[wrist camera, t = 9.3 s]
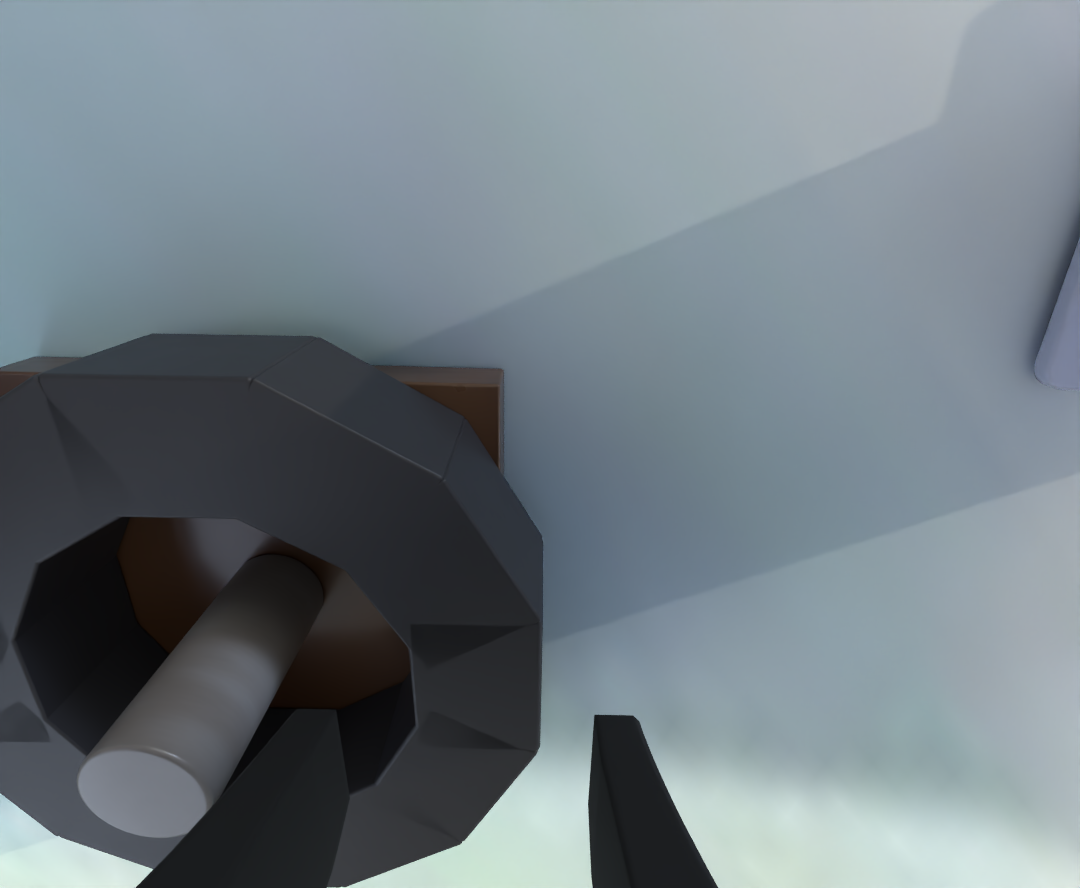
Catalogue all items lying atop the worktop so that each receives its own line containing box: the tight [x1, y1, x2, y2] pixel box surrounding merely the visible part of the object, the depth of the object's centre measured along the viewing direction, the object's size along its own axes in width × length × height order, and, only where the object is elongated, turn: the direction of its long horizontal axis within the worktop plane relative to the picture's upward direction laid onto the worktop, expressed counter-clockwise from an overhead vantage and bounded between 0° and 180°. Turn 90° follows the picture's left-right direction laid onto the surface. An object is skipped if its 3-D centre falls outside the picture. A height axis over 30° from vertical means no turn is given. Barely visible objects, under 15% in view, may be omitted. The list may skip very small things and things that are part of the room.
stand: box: [0, 357, 504, 838], centre depth 12 cm, size 10×10×6 cm
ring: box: [0, 334, 543, 887], centre depth 12 cm, size 12×12×3 cm
